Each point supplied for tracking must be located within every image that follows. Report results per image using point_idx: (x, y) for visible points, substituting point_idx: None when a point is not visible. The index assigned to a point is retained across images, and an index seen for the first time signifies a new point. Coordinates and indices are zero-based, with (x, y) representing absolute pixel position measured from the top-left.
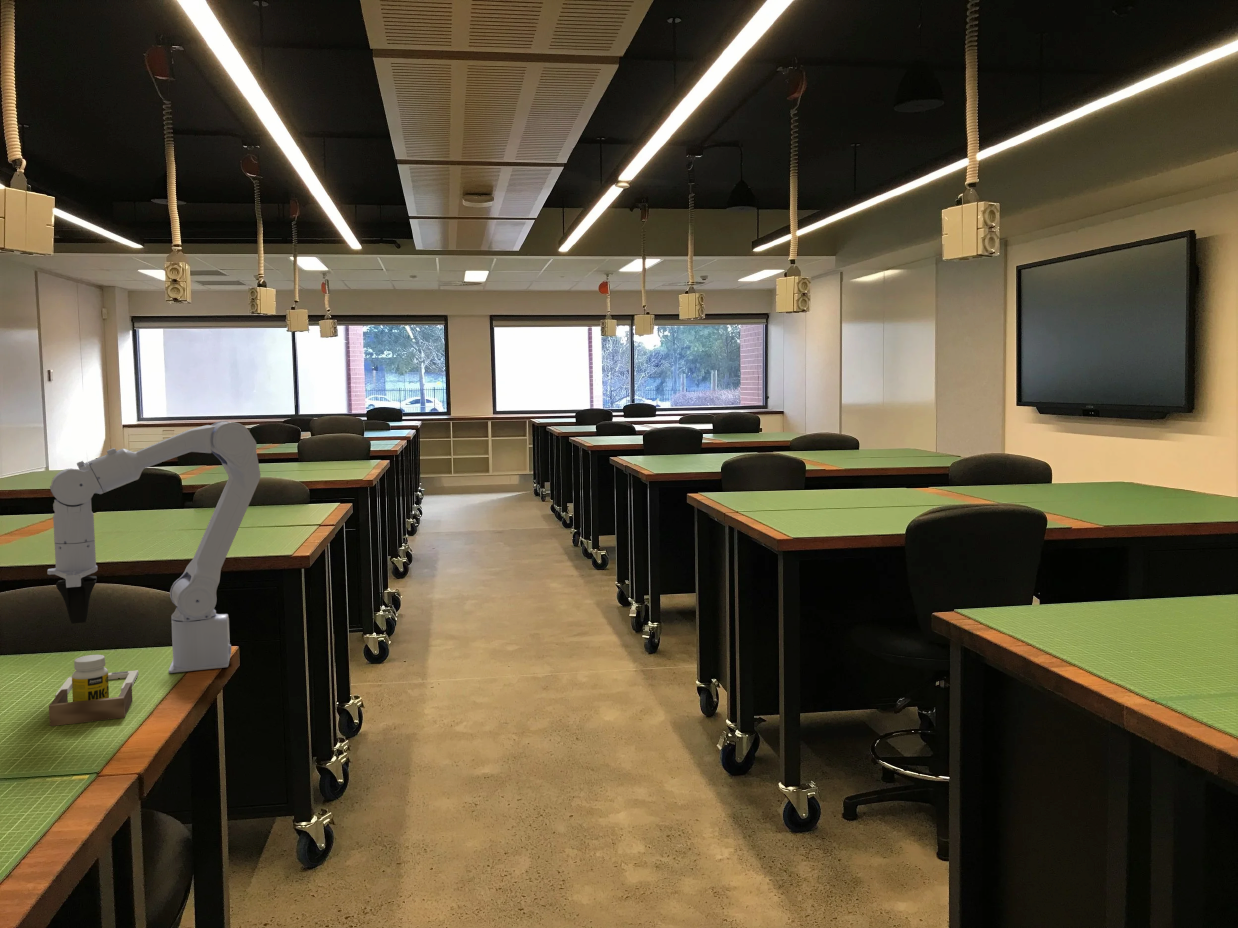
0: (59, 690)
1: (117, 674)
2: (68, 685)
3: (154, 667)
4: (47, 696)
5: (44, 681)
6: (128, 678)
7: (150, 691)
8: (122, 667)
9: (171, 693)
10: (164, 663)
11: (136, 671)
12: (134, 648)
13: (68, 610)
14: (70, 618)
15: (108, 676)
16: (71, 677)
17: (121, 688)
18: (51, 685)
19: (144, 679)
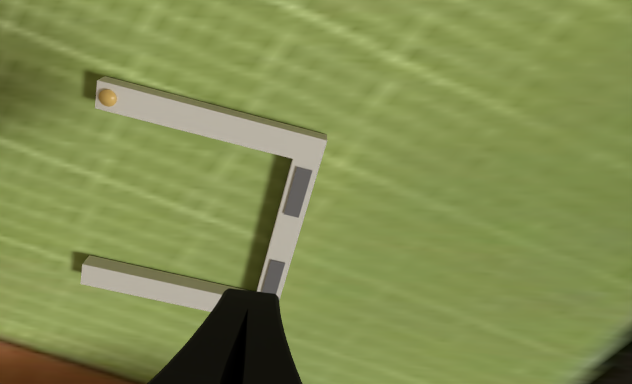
0: (153, 97)
1: (262, 272)
2: (206, 130)
3: (329, 356)
4: (168, 54)
5: (392, 57)
6: (186, 292)
7: (68, 317)
8: (395, 289)
9: (22, 353)
10: (356, 380)
11: None
12: (613, 342)
13: (187, 342)
14: (216, 306)
15: (268, 247)
16: (313, 148)
17: (82, 264)
18: (315, 77)
19: None
